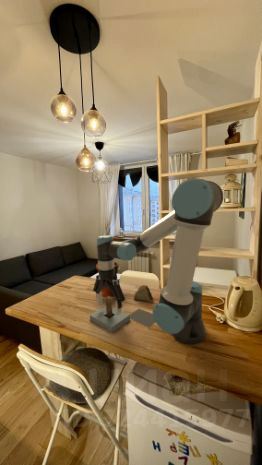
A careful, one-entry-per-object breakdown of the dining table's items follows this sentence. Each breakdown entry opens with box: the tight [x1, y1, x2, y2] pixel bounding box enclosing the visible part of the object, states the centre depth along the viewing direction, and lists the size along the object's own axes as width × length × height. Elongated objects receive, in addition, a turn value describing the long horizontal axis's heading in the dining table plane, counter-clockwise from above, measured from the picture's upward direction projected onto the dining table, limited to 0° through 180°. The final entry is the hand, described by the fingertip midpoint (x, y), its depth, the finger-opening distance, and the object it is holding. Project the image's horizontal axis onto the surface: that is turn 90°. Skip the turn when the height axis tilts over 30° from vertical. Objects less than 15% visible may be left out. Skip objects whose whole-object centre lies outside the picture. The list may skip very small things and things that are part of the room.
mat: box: [129, 308, 156, 328], centre depth 98 cm, size 14×10×1 cm
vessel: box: [95, 261, 120, 300], centre depth 125 cm, size 14×14×20 cm
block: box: [89, 305, 131, 333], centre depth 97 cm, size 16×12×3 cm
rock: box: [133, 284, 153, 302], centre depth 117 cm, size 11×9×10 cm
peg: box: [105, 296, 113, 318], centre depth 96 cm, size 3×3×12 cm
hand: (109, 309), depth 96 cm, fingers open, 13 cm apart
